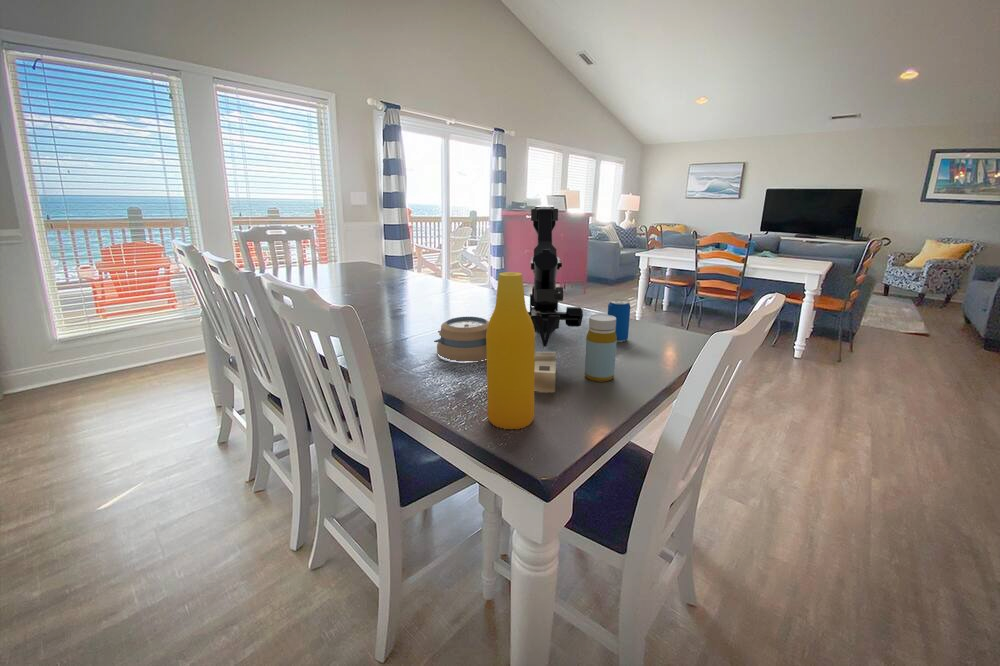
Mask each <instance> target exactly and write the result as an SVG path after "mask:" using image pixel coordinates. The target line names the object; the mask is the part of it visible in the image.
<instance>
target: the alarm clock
mask: <svg viewBox="0 0 1000 666" xmlns="http://www.w3.org/2000/svg"><path fill="white" fill-rule="evenodd" d="M489 321H490V320H487V319H485V318H482V317H478V316H460V317H459V316H458V317H452V318H451V319H448V320H446V321H445V322H443V323H442V324H441V325H440V330H438V331H437V333H439V337H440V338H438V339H435V340H433V342H434V343H437V345H436V351H437V352H436V354H437V353H438V354H439V355H440V356H442V357H444V358H447V359H450V360H456V361H481V360H485V359H487V347H486V332H487V327H488V324H489Z"/></svg>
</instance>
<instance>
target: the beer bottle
mask: <svg viewBox="0 0 1000 666" xmlns="http://www.w3.org/2000/svg"><path fill="white" fill-rule="evenodd" d="M524 289H525V288H524V279H523V273H521V272H516V271H507V272H506V271H505V272H500V273H498V279H497V289H496V300H495V306H494V307H495V308H494V310H493V312H492V314H491V316H490V318H489V320H488V321H489V324H488V327H487V332H486V347H487V361H486V385H487V386H486V387H487V388H486V391H487V393H486V394H487V395H486V397H487V406H486V407H487V413H486V414H487V418H488V421H489V423H490V422H491V423H492V424H493V425H492V424H491V425H492V426H494V425H495V426H497V427H496V428H498V427H500V428H499V429H501V428H504V429H503V430H506V429H516V430H521V429H524V428H527V427H528V426H530V425H531V424H532V422H534V418H535V392H534V372H535V354H536V333H535V332H536V331H535V330H534V325H533V323H532V320H531V318H530V316H529V313H528V312H529V311H528V309H527V306H526V300H525V298H526V297H525V292H524V291H525V290H524ZM495 426H494V427H495ZM526 426H527V427H526ZM520 428H521V429H520Z"/></svg>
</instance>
